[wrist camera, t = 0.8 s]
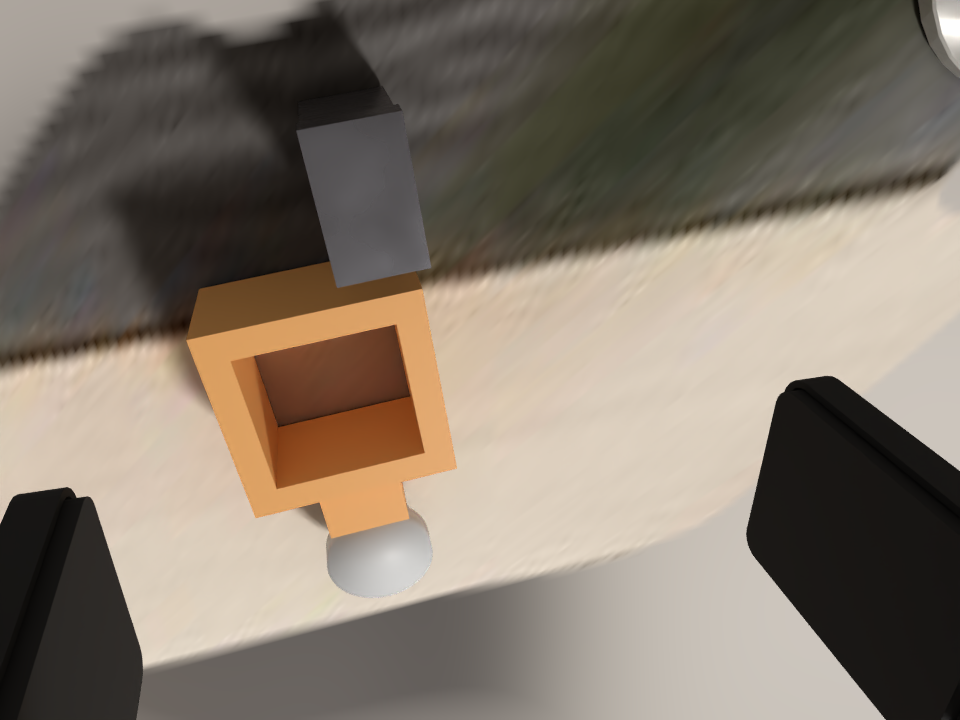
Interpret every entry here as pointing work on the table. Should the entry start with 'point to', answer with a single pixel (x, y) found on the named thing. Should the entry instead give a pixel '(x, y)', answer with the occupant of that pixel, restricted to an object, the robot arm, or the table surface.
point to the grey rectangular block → (363, 185)
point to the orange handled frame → (329, 417)
